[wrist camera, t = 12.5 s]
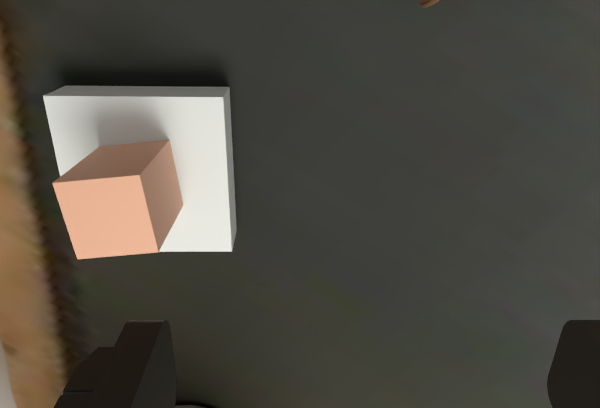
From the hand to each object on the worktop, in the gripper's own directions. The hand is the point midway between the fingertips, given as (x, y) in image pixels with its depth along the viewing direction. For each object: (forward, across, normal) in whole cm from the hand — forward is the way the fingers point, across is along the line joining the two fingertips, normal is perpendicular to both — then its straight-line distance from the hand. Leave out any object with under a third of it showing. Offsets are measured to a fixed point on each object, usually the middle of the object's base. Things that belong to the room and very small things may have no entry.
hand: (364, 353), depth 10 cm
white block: (+29, +12, +6) cm, 32 cm away
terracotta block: (+25, +12, +6) cm, 28 cm away
